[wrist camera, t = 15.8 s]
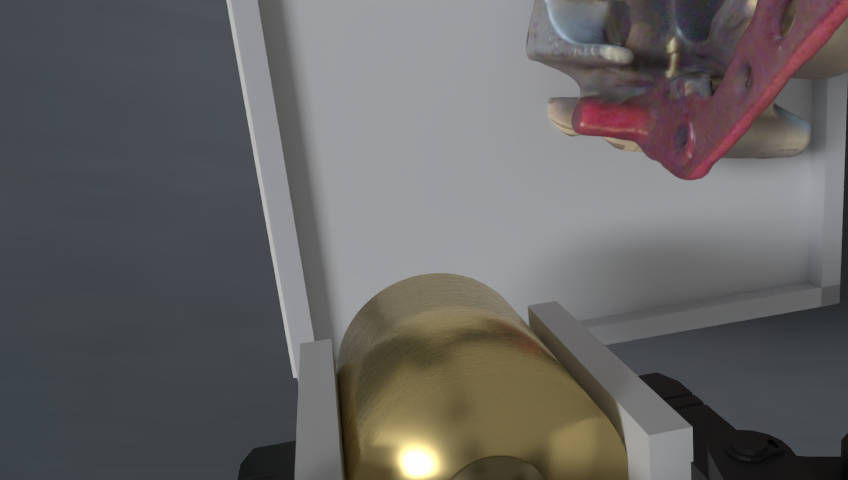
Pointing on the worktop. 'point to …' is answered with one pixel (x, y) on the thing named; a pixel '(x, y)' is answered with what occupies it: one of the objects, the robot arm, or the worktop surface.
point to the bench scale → (509, 179)
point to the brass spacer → (463, 392)
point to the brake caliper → (688, 73)
